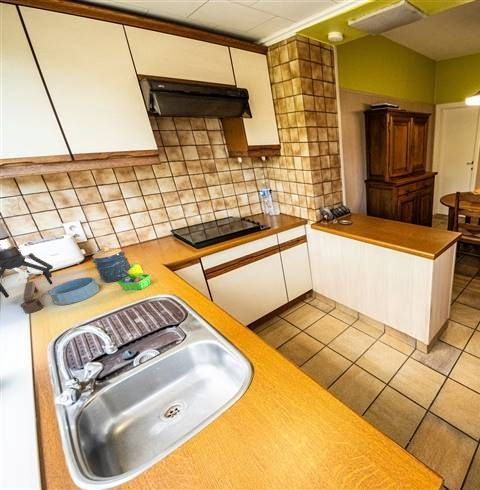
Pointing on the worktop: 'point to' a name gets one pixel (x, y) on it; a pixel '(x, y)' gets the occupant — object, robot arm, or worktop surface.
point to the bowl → (74, 291)
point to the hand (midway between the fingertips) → (30, 290)
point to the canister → (111, 264)
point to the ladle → (31, 299)
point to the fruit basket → (135, 279)
